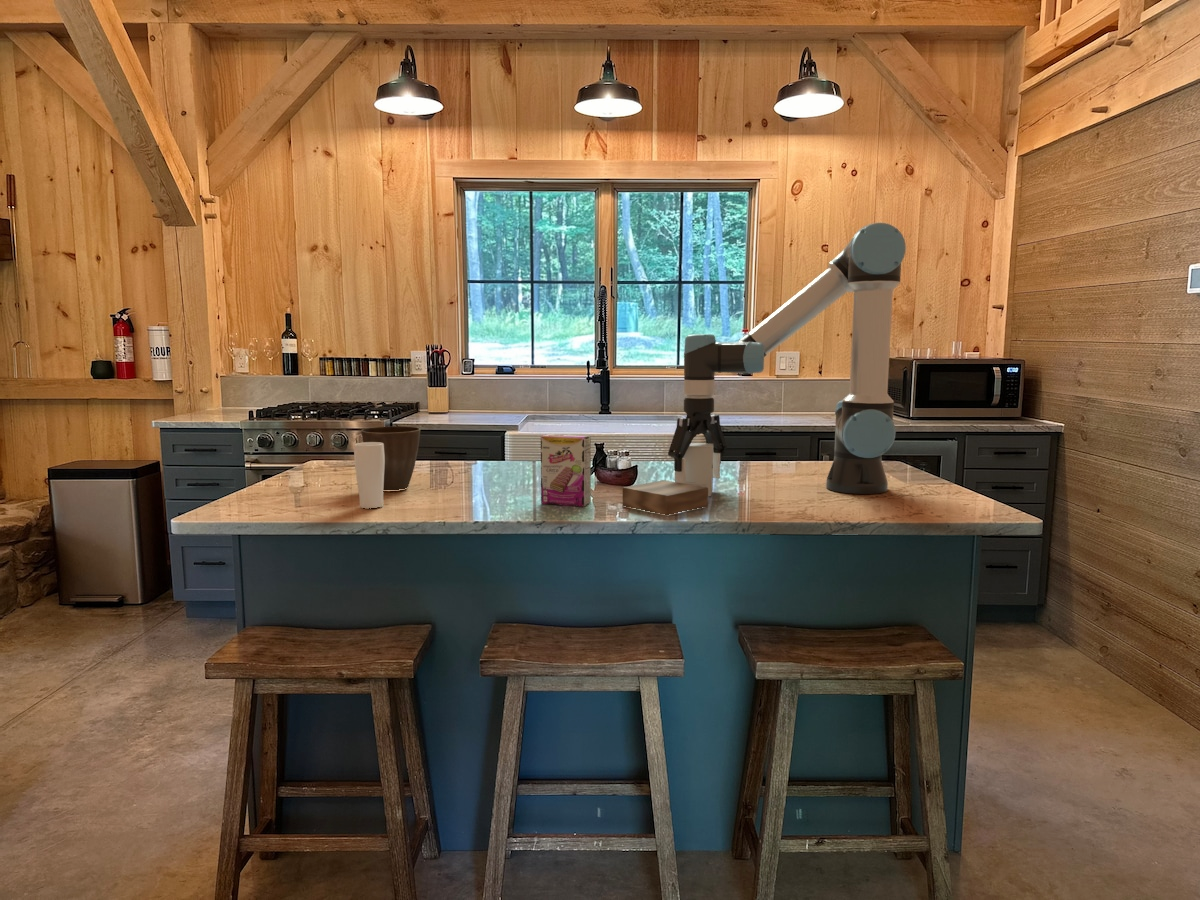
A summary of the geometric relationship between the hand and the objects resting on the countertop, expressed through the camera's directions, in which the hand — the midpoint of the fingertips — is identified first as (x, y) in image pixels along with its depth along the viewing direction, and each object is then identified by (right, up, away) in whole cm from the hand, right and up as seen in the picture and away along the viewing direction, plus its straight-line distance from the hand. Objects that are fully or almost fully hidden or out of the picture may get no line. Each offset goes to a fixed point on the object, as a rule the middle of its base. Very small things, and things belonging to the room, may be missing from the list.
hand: (697, 481), depth 197 cm
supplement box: (0, -3, 0) cm, 4 cm away
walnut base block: (-10, -6, -15) cm, 19 cm away
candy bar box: (-33, -5, -11) cm, 35 cm away
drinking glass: (-78, -6, -14) cm, 80 cm away
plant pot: (-79, -3, +8) cm, 79 cm away
